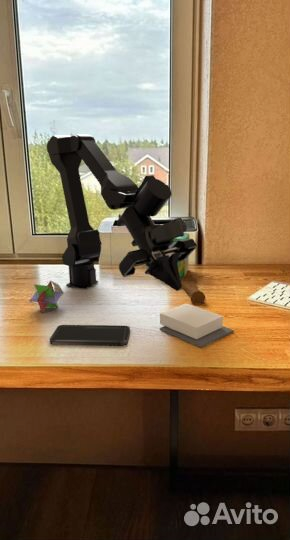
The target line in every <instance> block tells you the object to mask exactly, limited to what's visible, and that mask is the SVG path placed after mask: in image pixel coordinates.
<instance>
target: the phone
mask: <svg viewBox="0 0 290 540" xmlns="http://www.w3.org/2000/svg"><path fill="white" fill-rule="evenodd" d="M130 332H131V327H130V326H128V325H108V324H107V325H105V324H101V325H100V324H98V325H97V324H94V325H93V324H60V325H57V327H56V328H55V330H54V331H53V333H52V334H51V336H50V338H49V344H50V345H51V346H76V347H77V346H78V347H79V346H82V347H85V346H86V347H126V345H128V341H129V337H130Z"/></svg>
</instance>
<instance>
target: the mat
mask: <svg viewBox="0 0 290 540" xmlns="http://www.w3.org/2000/svg"><path fill="white" fill-rule="evenodd" d="M159 330H160V331H162V332H164V333H166V334H169V335H171V336H174V337H175V338H177V339H180V340H182V341H185V342H187V343H189V344H192V345H193V346H196V347H198V348H201V349H203V348H204V347H206V346H209V345H211V344H212V343H215V342H216V341H218V340H220V339H222V338H225V337H227V336H228V335H231V334H232V333H234V332H235V331H234V329H232V328H229V327H226V326H224V325H223V326H222V328H220V329H217V330H215V331H213V332H211V333H209V334H207V335H205V336H203V337H201V338H199V339H194V338H192V337H189V336H187V335H185V334H182V333H180V332H178V331H175V330H173V329H171V328H168V327H166V326H161V327H160V328H159Z"/></svg>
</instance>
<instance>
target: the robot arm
mask: <svg viewBox="0 0 290 540" xmlns="http://www.w3.org/2000/svg"><path fill="white" fill-rule="evenodd" d="M46 152H47V154H48V156H49V160H50V162H51V164H52V165H53V167H54V168H55V169H56V170H57V171H58V173H59V176H60V180H61V185H62V190H63V191H62V192H63V196H64V201H65V205H66V211H67V215H68V221H69V226H70V229H69V232H68V235H67V238H66V243H67V247H66V248H65V250H64V252H63V253H62V255H61V260H62V264H63V265H65V266H67V267H68V275H69V276H68V277H69V278H68V279H69V282H68V283H66V285H65V286H66V287H70V288H76V289H82V290H86V289H89V288H91V287H93V286H95V285H97V284H99V280H97V272H96V271H97V269H96V268H95V263H98V262H99V261H100V256H101V252H102V241H101V238H100V237H101V236H100V232H99V230H98V229H95V228H93V226H92V225H91V224H90V220H89V216H88V209H87V205H86V200H85V194H84V190H83V185H82V180H81V175H80V167H81V164H82V161H83V163H84V164H85V165H86V167H87V169H89V171H90V173H91V174H92V175H93V176H94V178H95V179H96V180H97V182H98V183H99V185H100V195H101V197H102V199H103V201H104V203H105V204H106V206H107V207H108V208H109V209H110V210H113V211H116V210H123V212H122V213H120V214H118V219H117V222H116V226H117V227H124V226H125V228H126V229H127V231H128V233H129V235H130V236H131V238H132V239H133V240H132V241H131V242H130V244H131V245H132V247H137V248H138V249H135V250H131V251H128V252H127V253H126V255H125V256H124V257H123V259H122V260H121V261H120V262H119V264H118V270H119V272H120V274H121V276H122V277H123V278H126V277H129V276H134V274H135V272H136V267H139V266H143V265H145V267H146V270H145V271H144V274H145V275H150V276H151V277H153V278H155V279H157V280H158V281H160V282H162V283H164V284H165V285H167V286H168V287H170V288H171V289H173V290H174V291H176V292H178V291H182V289H183V288H182V285H181V280H180V279H181V278H180V275H179V271H178V262H180V261H183V260H185V259H186V258H187V257H188V256H190V255H191V254H192V253H193V252H194V251H195V250H196V249H197V248H198V245H197V243H196V241H195V240H194V239H193V238H190V237H189V238H187V239H183V240H178V241H177V243H176V244H175V245H174V246H173V247H172V248H170V249H169V245H172V243H173V242H174V241H173V240H172V239H175V238H177V237H180V236H181V237H182V236H184V233H185V232H187V229H188V228H187V227H188V226H187V224H186V223H185V221H184V220H183V218H182V217H177V218H174V219H172V220H170V222H166V223H163V224H160V223H159V224H155V222H154V220H153V219H152V217H155V216H157V215H158V214H159V213H160V212H161V210H162V209H163V208H164V206H165V205H166V204H167V203H168V201H169V200H170V199H171V197H172V195H173V193H172V190H171V188H170V186H169V185H168V184H166V183H165V182H164V181H162V180H160V179H157V178H156V177H155V176H154V174H151V175H149V174H148V175H147V174H146V175H145V176H144V178H143V180H142V182H141V184H140V185H139V186H138V185H137V184H136V183H135V182H134V181H133V180H132V179H131V178H130V177H128V176H126V175H124V174H122V173H120V172H119V171H118V170H117V169H116V168H115V166H114V165H113V164H112V163H111V161H110V160H109V159H108V157H107V156H106V155H105V153H104V152H103V151H102V150H101V148H100V146H99V145H98V144H97V143H96V139H95V138H94V136H92V135H91V134H74V135H52V136H51V137H50V138H49V140H48V141H47V143H46Z"/></svg>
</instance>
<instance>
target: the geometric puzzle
mask: <svg viewBox="0 0 290 540" xmlns="http://www.w3.org/2000/svg"><path fill="white" fill-rule="evenodd" d="M46 284H47V285H46ZM34 288H35V293H34V294H33V290H32V292H31V297H30V298H29V302H30V303H31V304H35V305H37V306H39V309H40V310H39V312H41V314H44V313H47V312H51V311H52V310H49V309H50V308H52V309H59V306H60V305H58V301H59V299H60V302H59V304H61V300H62V297H63V295H64V290H63V289H62V288H61V286H60V285H59V284H58V283H56V282H54V281H52V280H49V281H48V282H46V283H45V284H43V285H42V284H34ZM32 294H33V295H32ZM46 308H47V309H46ZM45 309H46V310H45Z"/></svg>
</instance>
